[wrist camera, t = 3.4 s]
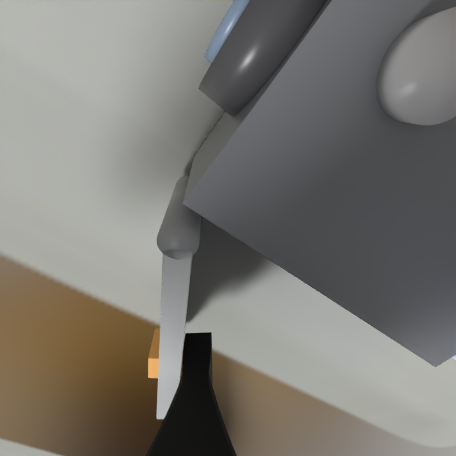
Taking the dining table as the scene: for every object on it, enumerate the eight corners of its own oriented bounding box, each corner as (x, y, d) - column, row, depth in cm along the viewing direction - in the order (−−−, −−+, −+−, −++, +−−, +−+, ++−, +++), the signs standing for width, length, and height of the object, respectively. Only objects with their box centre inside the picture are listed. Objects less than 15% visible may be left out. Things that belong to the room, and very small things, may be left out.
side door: (187, 334, 13) (179, 419, 10) (159, 333, 13) (141, 418, 10) (204, 177, 9) (201, 225, 6) (164, 172, 9) (139, 219, 6)
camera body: (479, 185, 11) (671, 252, 6) (364, 280, 13) (447, 381, 8) (281, -56, 7) (412, -319, 2) (163, 133, 9) (119, 175, 4)
